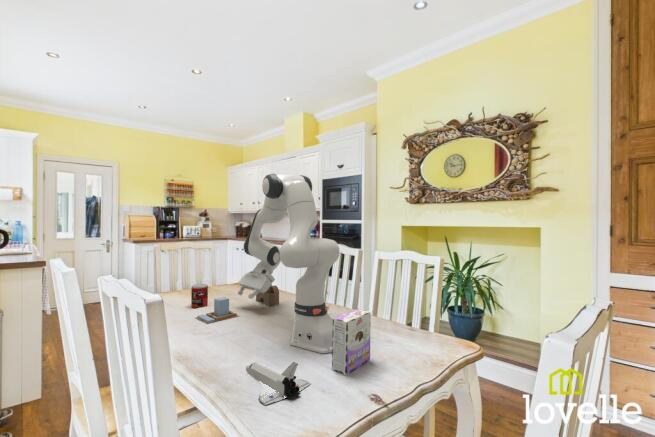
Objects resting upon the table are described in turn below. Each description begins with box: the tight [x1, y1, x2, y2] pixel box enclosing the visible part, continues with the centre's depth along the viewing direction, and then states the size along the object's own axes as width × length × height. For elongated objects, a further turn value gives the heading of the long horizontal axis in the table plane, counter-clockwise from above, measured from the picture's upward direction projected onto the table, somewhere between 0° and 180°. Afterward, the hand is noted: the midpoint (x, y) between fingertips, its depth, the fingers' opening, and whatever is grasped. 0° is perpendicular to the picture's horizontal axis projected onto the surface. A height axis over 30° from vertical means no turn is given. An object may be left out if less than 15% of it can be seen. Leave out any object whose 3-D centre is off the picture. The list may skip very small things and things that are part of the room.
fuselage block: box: [213, 296, 230, 317], centre depth 151 cm, size 4×5×8 cm
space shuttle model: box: [245, 361, 311, 406], centre depth 95 cm, size 16×25×10 cm, turn 45°
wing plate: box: [197, 314, 216, 324], centre depth 146 cm, size 10×3×1 cm, turn 47°
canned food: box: [190, 283, 209, 310], centre depth 171 cm, size 8×8×11 cm
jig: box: [194, 310, 241, 325], centre depth 150 cm, size 12×16×2 cm
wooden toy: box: [255, 283, 280, 307], centre depth 181 cm, size 15×7×25 cm, turn 42°
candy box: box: [331, 308, 371, 376], centre depth 106 cm, size 14×6×16 cm, turn 141°
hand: (244, 296), depth 160 cm, fingers open, 8 cm apart
